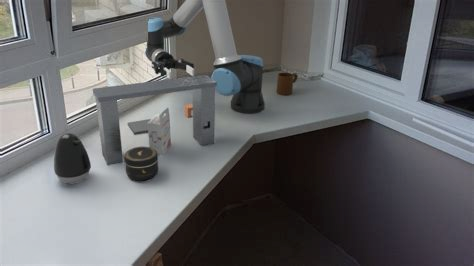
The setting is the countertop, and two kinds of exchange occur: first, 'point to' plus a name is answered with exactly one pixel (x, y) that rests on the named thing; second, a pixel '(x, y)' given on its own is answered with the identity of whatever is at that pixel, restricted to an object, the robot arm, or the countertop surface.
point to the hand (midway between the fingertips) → (182, 74)
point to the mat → (139, 126)
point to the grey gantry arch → (109, 95)
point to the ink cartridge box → (160, 132)
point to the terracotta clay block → (191, 112)
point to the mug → (285, 83)
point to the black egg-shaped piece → (71, 159)
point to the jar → (141, 163)
